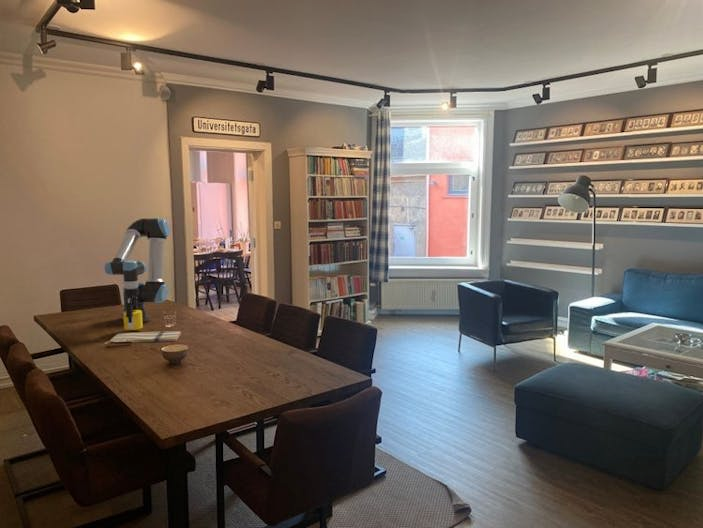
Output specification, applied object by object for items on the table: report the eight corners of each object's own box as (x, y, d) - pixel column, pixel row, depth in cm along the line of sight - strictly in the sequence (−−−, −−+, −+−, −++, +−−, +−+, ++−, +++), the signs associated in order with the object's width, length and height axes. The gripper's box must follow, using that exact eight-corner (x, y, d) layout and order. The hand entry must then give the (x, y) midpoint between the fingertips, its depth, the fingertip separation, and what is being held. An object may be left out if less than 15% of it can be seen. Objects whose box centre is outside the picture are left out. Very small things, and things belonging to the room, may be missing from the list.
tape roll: (136, 330, 298) (135, 314, 297) (120, 329, 300) (119, 313, 299) (146, 325, 308) (145, 310, 306) (131, 325, 310) (130, 309, 308)
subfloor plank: (118, 335, 295) (118, 332, 295) (180, 333, 300) (180, 330, 300) (109, 343, 279) (109, 340, 279) (175, 341, 284) (175, 338, 284)
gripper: (129, 284, 311) (131, 320, 314) (118, 291, 289) (121, 330, 292) (142, 284, 312) (144, 320, 315) (132, 291, 290) (135, 330, 293)
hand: (133, 325), depth 304 cm, fingers closed on tape roll, 10 cm apart
